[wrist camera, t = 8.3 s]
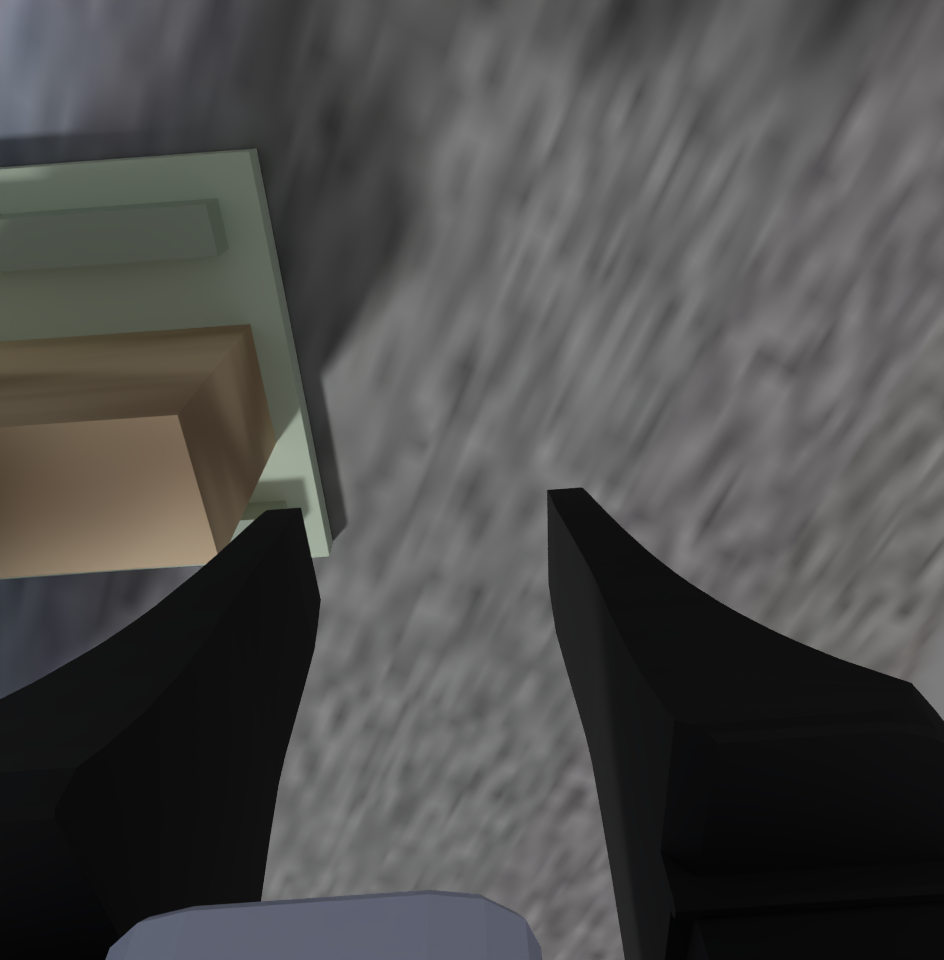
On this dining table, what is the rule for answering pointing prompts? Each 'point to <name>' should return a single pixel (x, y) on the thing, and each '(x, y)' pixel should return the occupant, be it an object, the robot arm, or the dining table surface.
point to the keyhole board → (162, 281)
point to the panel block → (128, 448)
